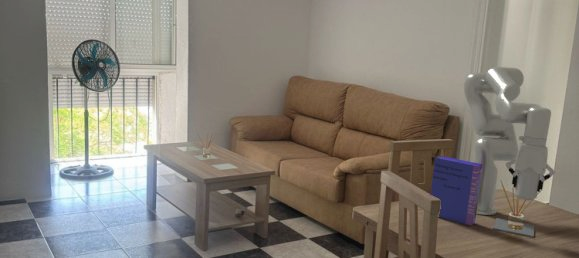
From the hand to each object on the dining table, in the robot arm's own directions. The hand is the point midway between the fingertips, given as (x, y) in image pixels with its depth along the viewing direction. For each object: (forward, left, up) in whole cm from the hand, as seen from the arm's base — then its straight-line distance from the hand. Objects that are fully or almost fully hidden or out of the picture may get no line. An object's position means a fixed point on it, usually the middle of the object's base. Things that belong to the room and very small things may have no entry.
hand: (526, 188), depth 187 cm
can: (0, 0, -4) cm, 4 cm away
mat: (-2, +9, -18) cm, 21 cm away
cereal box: (-25, +5, -19) cm, 32 cm away
